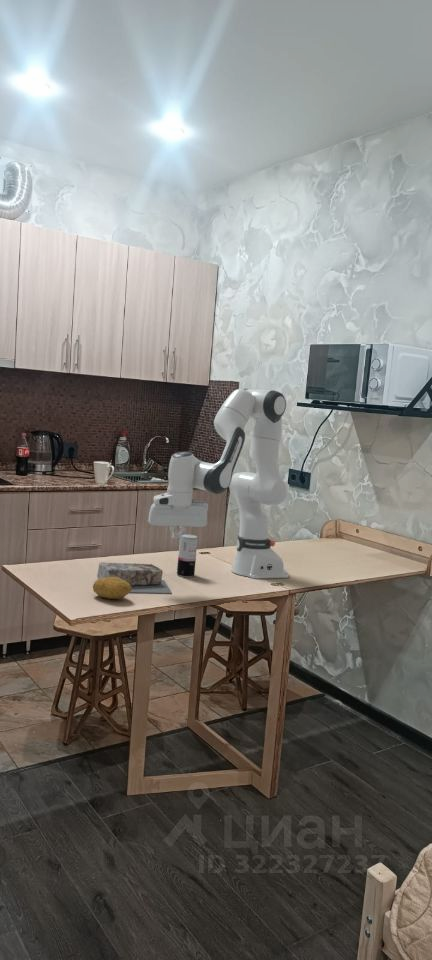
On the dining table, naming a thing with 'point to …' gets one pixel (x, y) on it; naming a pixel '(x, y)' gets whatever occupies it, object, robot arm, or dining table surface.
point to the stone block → (131, 573)
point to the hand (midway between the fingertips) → (176, 538)
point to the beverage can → (187, 555)
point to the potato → (111, 587)
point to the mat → (152, 588)
